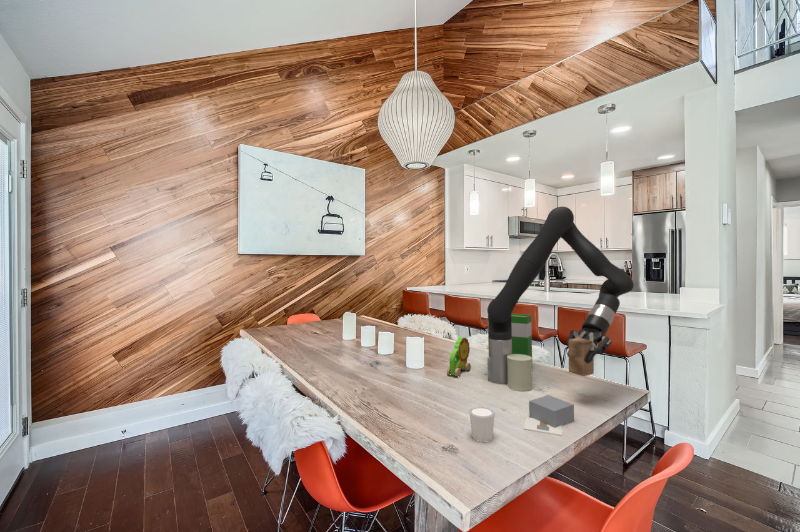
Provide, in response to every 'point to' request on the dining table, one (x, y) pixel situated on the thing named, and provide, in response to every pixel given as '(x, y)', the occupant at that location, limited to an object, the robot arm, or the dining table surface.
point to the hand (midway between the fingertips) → (577, 359)
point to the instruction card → (541, 427)
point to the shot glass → (482, 423)
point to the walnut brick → (580, 357)
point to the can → (519, 372)
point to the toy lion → (459, 357)
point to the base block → (551, 411)
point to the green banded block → (521, 334)
